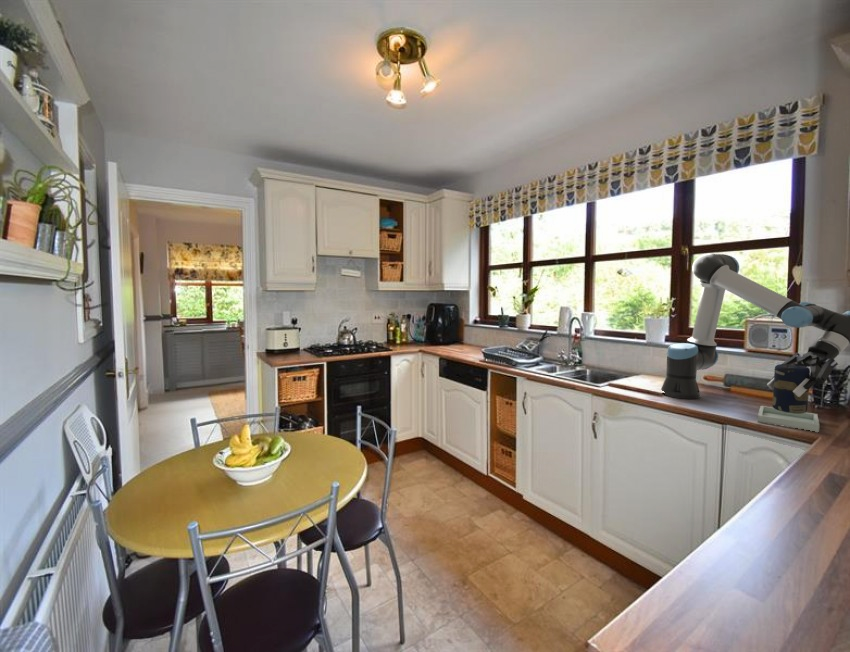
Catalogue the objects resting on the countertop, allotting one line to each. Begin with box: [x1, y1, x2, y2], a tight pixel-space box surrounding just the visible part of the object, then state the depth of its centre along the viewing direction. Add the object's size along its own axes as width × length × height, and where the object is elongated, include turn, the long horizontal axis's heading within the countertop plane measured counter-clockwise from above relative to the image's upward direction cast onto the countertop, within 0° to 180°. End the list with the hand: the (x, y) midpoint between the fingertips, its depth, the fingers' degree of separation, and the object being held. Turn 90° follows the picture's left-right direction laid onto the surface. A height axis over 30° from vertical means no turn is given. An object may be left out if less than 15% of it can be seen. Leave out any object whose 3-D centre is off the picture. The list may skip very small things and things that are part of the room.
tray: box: [757, 405, 820, 433], centre depth 146 cm, size 16×16×3 cm
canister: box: [772, 363, 811, 414], centre depth 144 cm, size 10×10×18 cm
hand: (782, 390), depth 144 cm, fingers closed on canister, 9 cm apart
